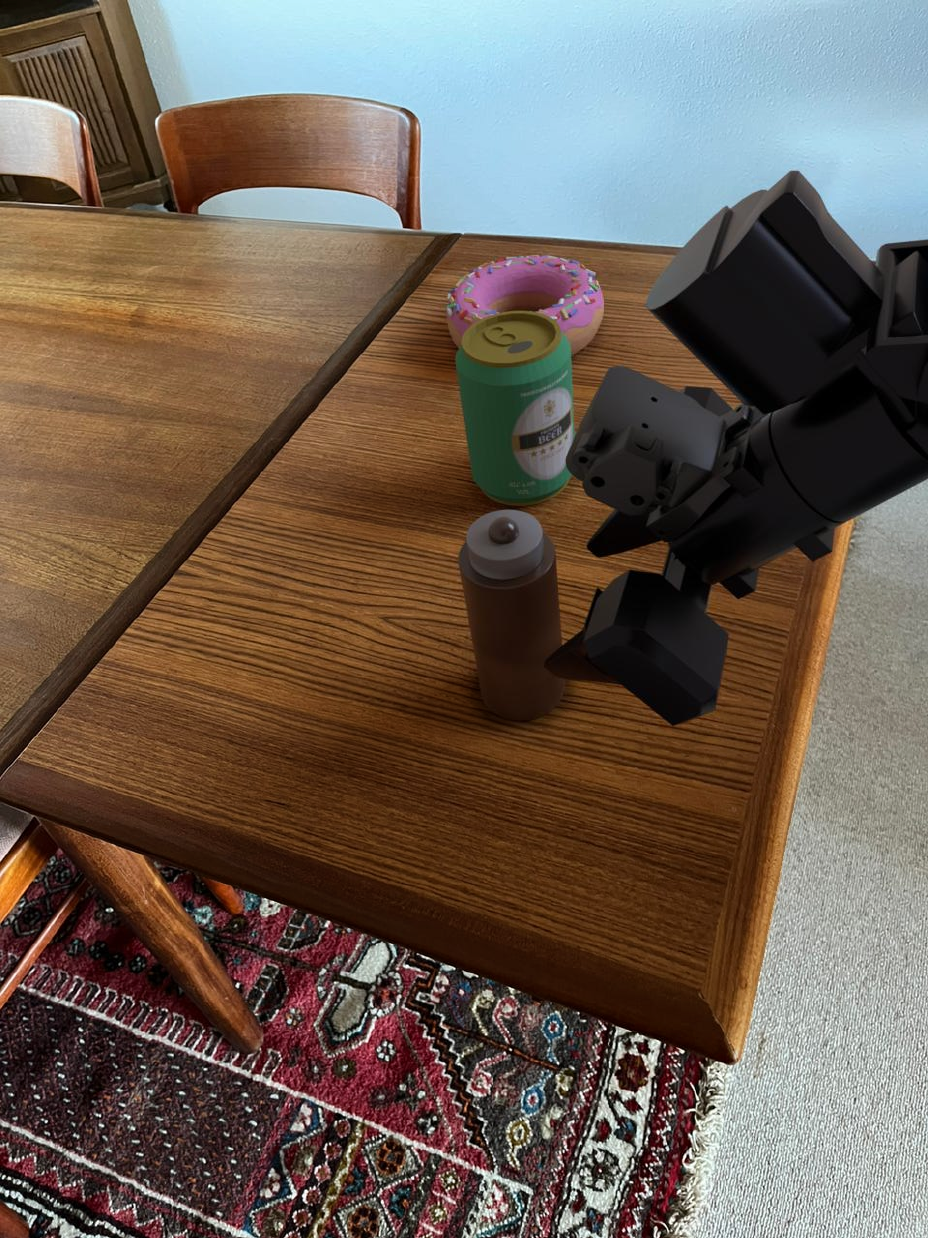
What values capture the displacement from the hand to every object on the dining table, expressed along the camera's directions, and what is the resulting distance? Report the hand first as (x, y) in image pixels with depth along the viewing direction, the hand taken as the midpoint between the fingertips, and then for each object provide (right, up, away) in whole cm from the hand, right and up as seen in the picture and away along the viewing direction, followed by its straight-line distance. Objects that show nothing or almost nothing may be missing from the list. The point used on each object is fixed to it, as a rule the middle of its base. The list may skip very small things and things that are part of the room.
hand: (572, 607), depth 51 cm
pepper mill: (-2, -5, +7) cm, 9 cm away
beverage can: (-1, +10, +21) cm, 24 cm away
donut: (0, +25, +36) cm, 44 cm away
